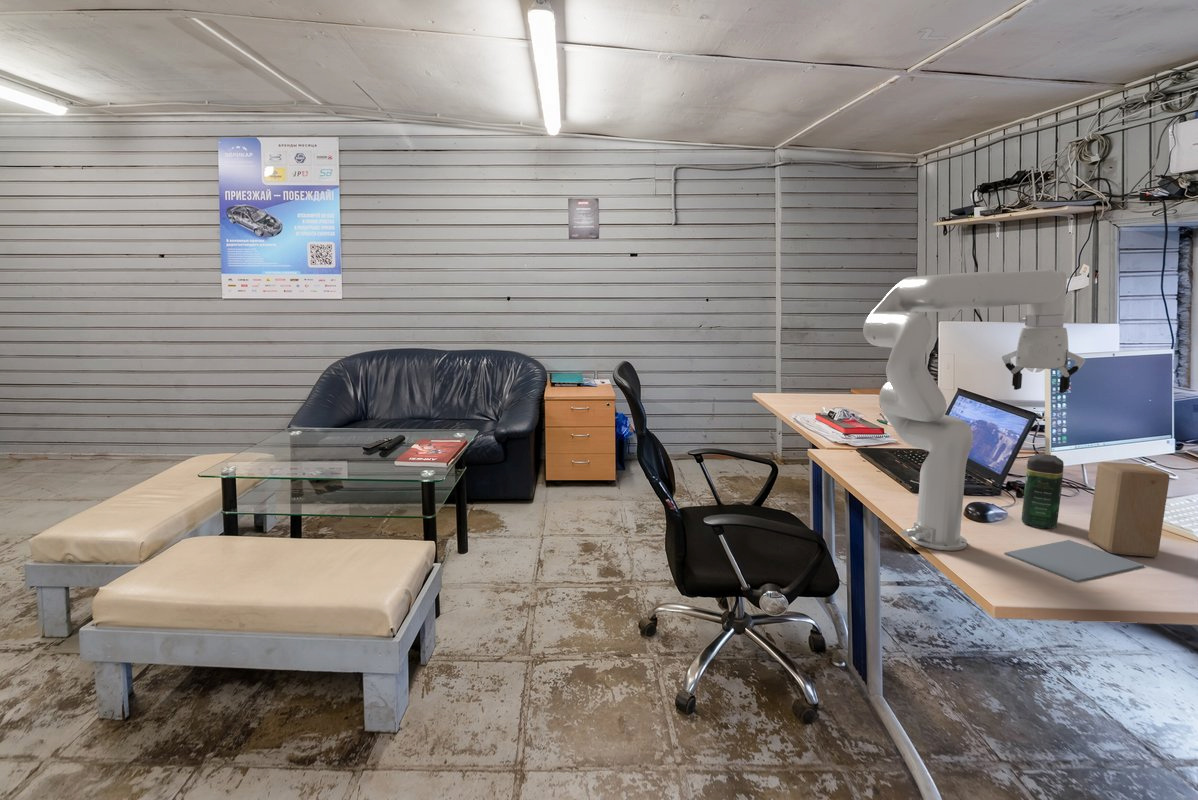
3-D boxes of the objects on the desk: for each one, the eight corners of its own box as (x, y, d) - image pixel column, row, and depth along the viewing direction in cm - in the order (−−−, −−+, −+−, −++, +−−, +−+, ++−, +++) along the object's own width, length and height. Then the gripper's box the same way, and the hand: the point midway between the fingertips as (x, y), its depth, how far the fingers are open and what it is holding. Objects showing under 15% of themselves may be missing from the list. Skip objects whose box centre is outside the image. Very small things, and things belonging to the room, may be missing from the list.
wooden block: (1160, 558, 142) (1172, 473, 139) (1110, 554, 144) (1121, 470, 141) (1132, 543, 151) (1143, 463, 149) (1085, 539, 153) (1096, 460, 151)
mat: (1076, 582, 131) (1076, 580, 131) (1004, 554, 146) (1004, 552, 146) (1143, 566, 138) (1144, 564, 138) (1068, 541, 153) (1069, 539, 153)
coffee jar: (1056, 531, 159) (1064, 461, 157) (1019, 525, 164) (1026, 457, 162) (1058, 521, 167) (1065, 454, 164) (1023, 515, 172) (1029, 450, 169)
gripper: (999, 322, 157) (995, 389, 160) (1083, 323, 144) (1077, 395, 147) (1010, 321, 162) (1005, 386, 165) (1092, 321, 149) (1086, 392, 151)
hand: (1039, 390), depth 156 cm, fingers open, 9 cm apart
